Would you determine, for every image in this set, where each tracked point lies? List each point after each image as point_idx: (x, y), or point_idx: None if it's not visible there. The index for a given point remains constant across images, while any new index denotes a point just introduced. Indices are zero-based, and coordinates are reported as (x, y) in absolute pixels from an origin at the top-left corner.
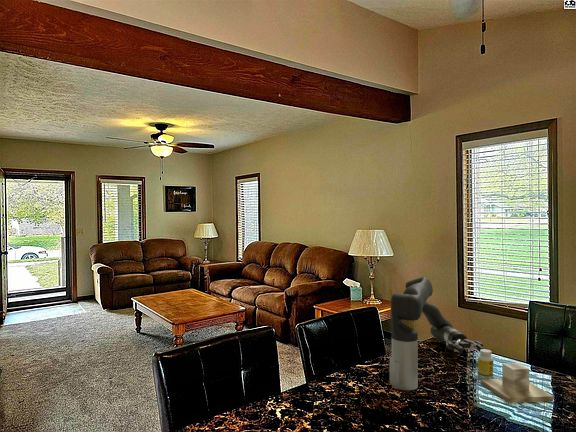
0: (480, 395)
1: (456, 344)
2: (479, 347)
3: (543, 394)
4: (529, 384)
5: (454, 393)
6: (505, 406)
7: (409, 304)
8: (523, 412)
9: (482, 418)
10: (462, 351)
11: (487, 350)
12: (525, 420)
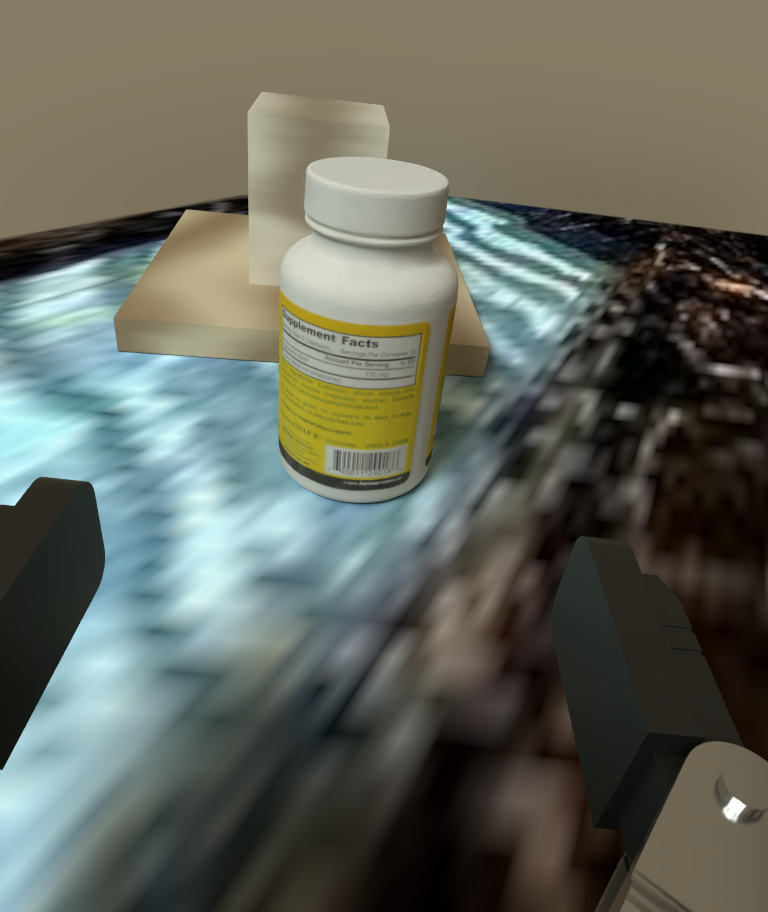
0: (557, 304)
1: (733, 770)
2: (48, 557)
3: (222, 220)
4: (174, 269)
5: (709, 333)
6: (476, 249)
7: None
8: None
9: (614, 233)
10: (560, 591)
11: (346, 173)
12: (455, 209)
